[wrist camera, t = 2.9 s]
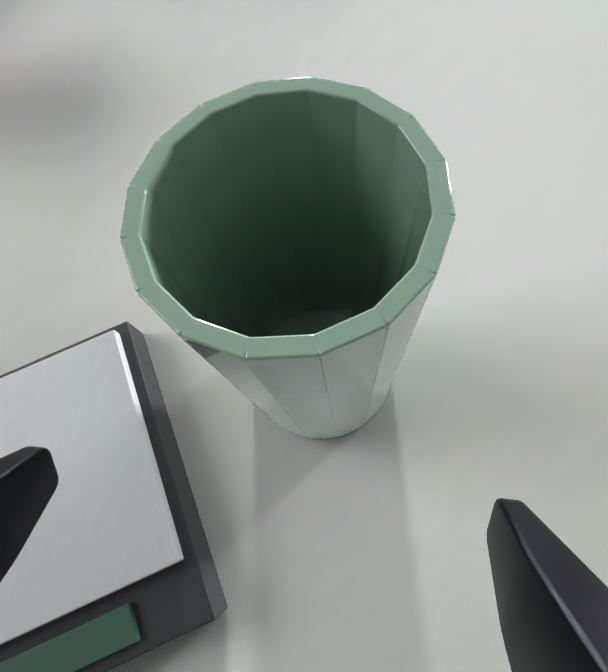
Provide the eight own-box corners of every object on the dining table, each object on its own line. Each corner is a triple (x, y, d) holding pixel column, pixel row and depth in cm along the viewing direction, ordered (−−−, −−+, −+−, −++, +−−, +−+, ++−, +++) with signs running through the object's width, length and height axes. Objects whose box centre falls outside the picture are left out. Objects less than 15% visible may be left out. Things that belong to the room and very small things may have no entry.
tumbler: (414, 403, 20) (523, 264, 8) (284, 462, 20) (175, 420, 7) (352, 287, 23) (359, 38, 10) (235, 339, 22) (89, 147, 10)
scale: (227, 607, 18) (210, 624, 16) (-37, 732, 18) (-94, 768, 15) (142, 333, 23) (120, 316, 21) (-67, 423, 22) (-113, 416, 20)
